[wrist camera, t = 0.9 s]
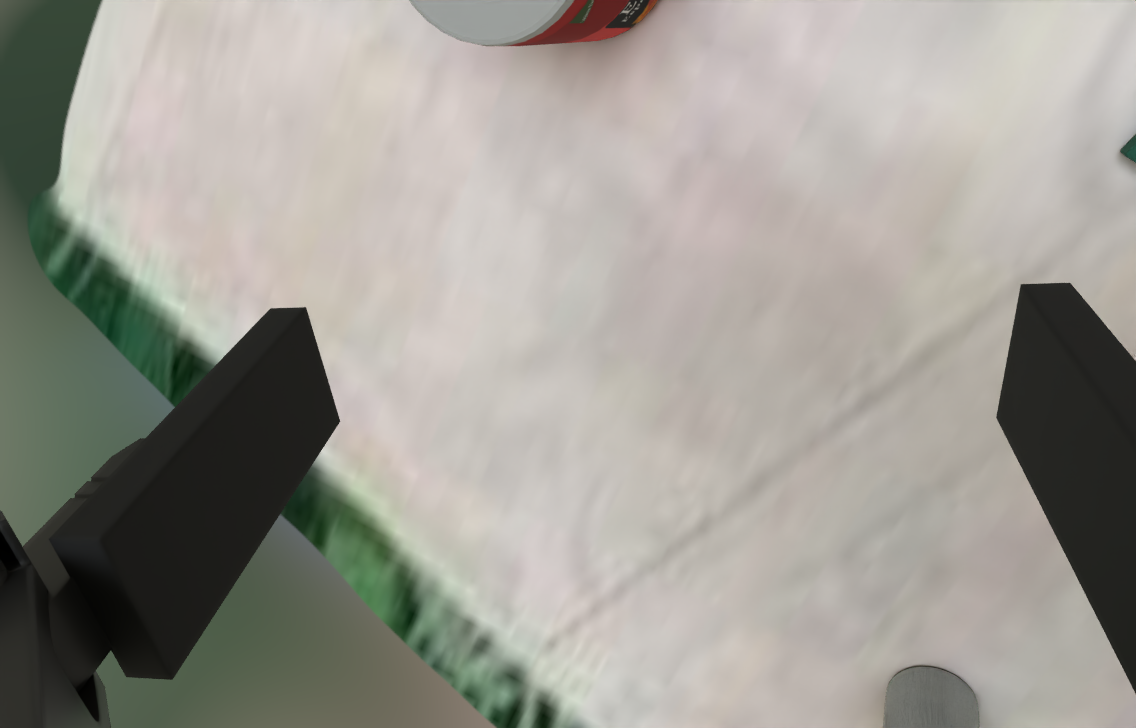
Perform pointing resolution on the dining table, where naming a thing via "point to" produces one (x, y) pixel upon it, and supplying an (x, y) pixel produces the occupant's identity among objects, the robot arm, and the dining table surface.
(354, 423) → the dining table surface
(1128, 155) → the towel
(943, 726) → the grey cylinder
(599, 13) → the canned food
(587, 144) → the dining table surface
